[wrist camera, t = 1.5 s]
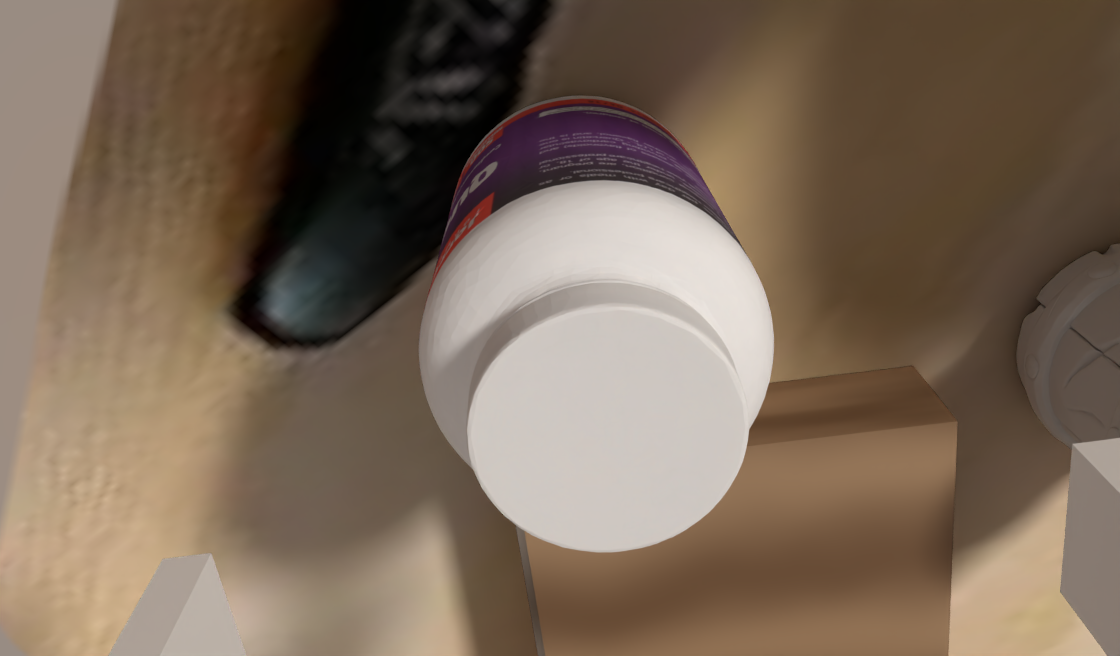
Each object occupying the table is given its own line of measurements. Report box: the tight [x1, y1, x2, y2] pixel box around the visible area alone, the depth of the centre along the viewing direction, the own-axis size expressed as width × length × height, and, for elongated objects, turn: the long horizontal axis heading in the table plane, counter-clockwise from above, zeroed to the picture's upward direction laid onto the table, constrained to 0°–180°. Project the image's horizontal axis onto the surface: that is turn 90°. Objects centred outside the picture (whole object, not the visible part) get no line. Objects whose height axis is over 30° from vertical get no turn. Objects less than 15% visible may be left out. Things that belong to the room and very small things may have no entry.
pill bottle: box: [419, 95, 774, 552], centre depth 26 cm, size 8×8×14 cm
